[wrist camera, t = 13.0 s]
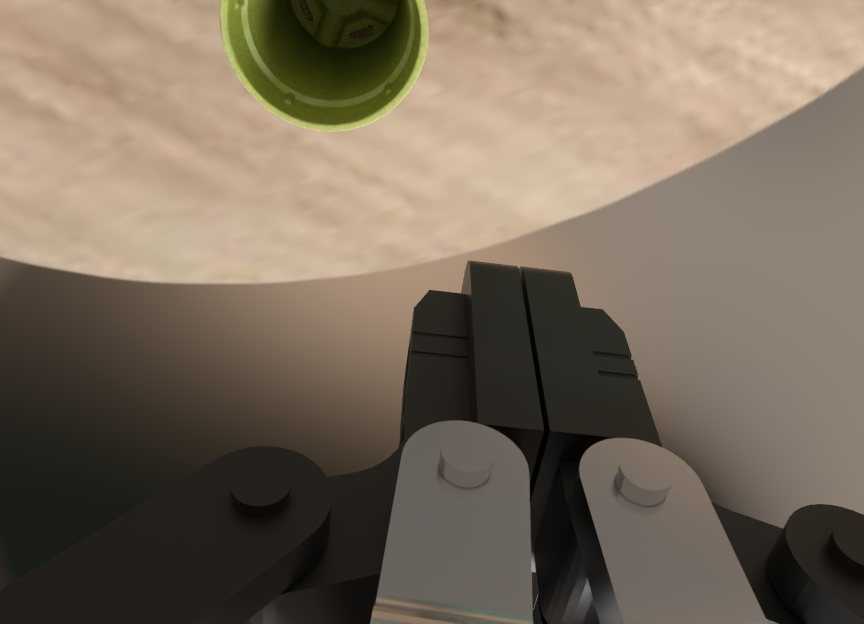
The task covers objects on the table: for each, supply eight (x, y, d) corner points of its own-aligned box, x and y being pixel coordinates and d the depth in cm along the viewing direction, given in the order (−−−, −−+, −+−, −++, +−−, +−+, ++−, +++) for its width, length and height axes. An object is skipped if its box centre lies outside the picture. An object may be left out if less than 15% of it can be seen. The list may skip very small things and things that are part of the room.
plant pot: (458, 36, 43) (461, 84, 36) (311, 104, 46) (286, 161, 38) (384, -140, 39) (370, -126, 31) (224, -55, 41) (177, -24, 34)
